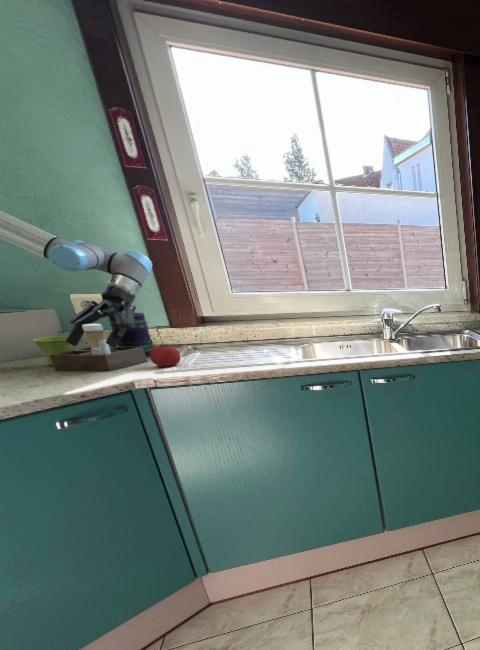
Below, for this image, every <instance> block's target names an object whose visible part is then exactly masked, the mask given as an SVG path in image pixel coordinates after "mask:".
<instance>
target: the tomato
mask: <svg viewBox="0 0 480 650" xmlns="http://www.w3.org/2000/svg"><path fill="white" fill-rule="evenodd" d="M154 347H155V348H153V349H151V350H150V353H149V354H150V357H149V359H150V360H151V362H152V363H153V364H154V365H155V366H157V367H160V368H166V367H174V366H176V365H178V364H180V362H181V359H182V358H181V353H180V352H179V350H177V349H176V348H175V347H173V346H170V345H163V343H162V344H160V346H154Z"/></svg>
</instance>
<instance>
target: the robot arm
mask: <svg viewBox="0 0 480 650" xmlns="http://www.w3.org/2000/svg"><path fill="white" fill-rule="evenodd" d="M0 240H3V241H5V242H8V243H9V244H13V245H14V246H17V247H19V248H22V249H24V250H26V251H28V252H30V253H33V254H35V255H37V256H39V257H42V258H43V259H47V260H49V261H50V262H51V263H53V265H54V266H55V267H57V268H59V269H61V270H64V271H70V272H80V271H90V270H91V271H92V270H97V271H101V272H104V273H107V274H110V275H111V277H110V278H109V280H108V281H107V283H106V286H105V287H104V288H103V290H102V292H101V294H100V296H101V298H102V300H101V301H99V302H97V301H95V300H91V301H90V302H89V303H88V305H87V306H85V307H84V308H83V309H82V310H81V311H79V312H78V313H77V314H76V315H75V316H73V317H72V318H71V319H69V323H70V324H71V325H72V326H73V327H72V329H71V330H70V332H69V335H68V338H67V339H66V342H68V343H70V344H72V345H73V347H77V346H78V344H79V342H80V341H81V339H82V338H83V336H84V335H85V331H84V330H83V327H82V325H84V324H94V323H95V322H96V321H98V320H100V319H101V318H102V319H104V318H106V317H108V316H114V317H115V319H116V322H117V324H116V325H118V326H119V327H118V326H114V328H113V330H112V329H111V332H109V333H110V334H109V335H108V336H107V338H106V340H107V341H106V342H105V343H107V344H108V346H112V347H113V348H116V346H118V345H117V344H118V342H119V341H120V339H121V338H122V337H123V335H124V333H125V331H127V330H128V329H134V328H135V320H134V313H135V311H136V309H137V307H136V305H134V304H133V303H134V301H135V298H136V297H137V295H138V294H139V291H140V290H141V289H142V287H143V285H144V283H145V281H146V280H147V278H148V277H149V275H150V272H151V270H152V268H153V262H152V260H151V259H150V258H149V257H148V256H146V255H145V254H144V253H141V252H139V251H136V250H134V251H133V250H127V251H125V253H123V254H122V253H119V252H115V251H112V250H109V249H106V248H103V247H101V246H99V245H96V244H93V243H91V242H88V241H83V240H81V239H74V240H72V241H71V242H70V241H67V240H65V239H63V238H61V237H58V236H56V235H55V234H52V233H50V232H48V231H47V230H44V229H42V228H39V227H38V226H35V225H32V224H31V223H28V222H26V221H24V220H23V219H20V218H17V217H15V216H13V215H11V214H8V213H7V212H5V211H2V210H0Z"/></svg>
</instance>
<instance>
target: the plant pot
mask: <svg viewBox="0 0 480 650" xmlns="http://www.w3.org/2000/svg"><path fill="white" fill-rule="evenodd" d="M68 336H69V335H68ZM68 336H67V335H65V336H64V335H62V336H60V335H59V336H45V337H39V338H34V339H32V341H33V342H34V343H35V344H36V346H38V347H39V348H40V350H41V352H42V353H43V355H44V357H45V358H46V360H47V361H48V363H49V365H50V366H53V367H54V365H53V362H52V360H51V357H50V355H52V354H57V353H62V352H67V351H72V350H75V349H74V346H73V345H72V344H70V343H68V342H66V339H67V338H68Z"/></svg>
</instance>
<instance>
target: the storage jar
mask: <svg viewBox="0 0 480 650" xmlns="http://www.w3.org/2000/svg"><path fill="white" fill-rule="evenodd" d="M107 317H108V320H109V321H108V322H109V325H110V327H111V331H112V330H113V328H114V326H118V325H116V324H117V322H116V319H115V317H114V316H107ZM134 320H135V328H134V329H128V330H127V331H125V333H124V335H123V337H122V338H121V339H120V341H119V342H118V344H117V346H130V347H143V349H144V352H145V355H146V358H150V354H149V353H150V350H151V349H153V348H155V347H156V346H155V344H154V342H153V340H152V339H151V335H150V332H149V326H148V321H147V320H146V317H145V313H144V312H134ZM118 327H119V326H118Z"/></svg>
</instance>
